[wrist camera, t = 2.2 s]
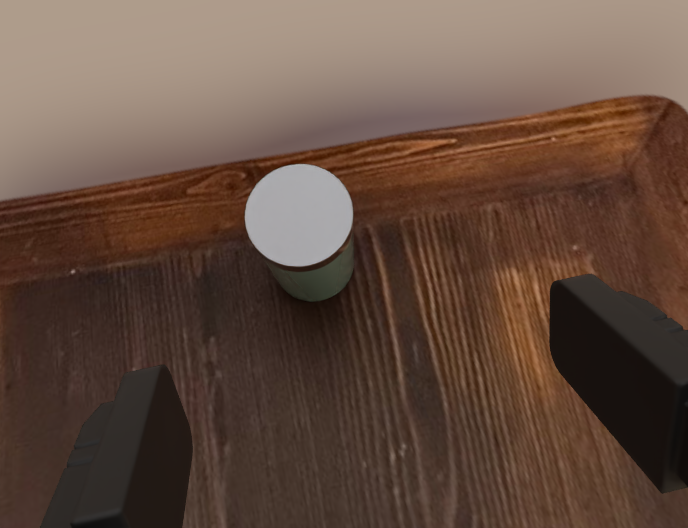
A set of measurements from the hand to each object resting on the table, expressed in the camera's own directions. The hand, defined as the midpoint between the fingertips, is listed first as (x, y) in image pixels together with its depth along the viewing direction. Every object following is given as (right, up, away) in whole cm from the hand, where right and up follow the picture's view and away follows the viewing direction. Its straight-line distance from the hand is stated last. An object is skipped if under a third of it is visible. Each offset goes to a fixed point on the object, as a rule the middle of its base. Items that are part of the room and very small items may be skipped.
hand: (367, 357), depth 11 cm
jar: (-2, +2, +24) cm, 24 cm away
